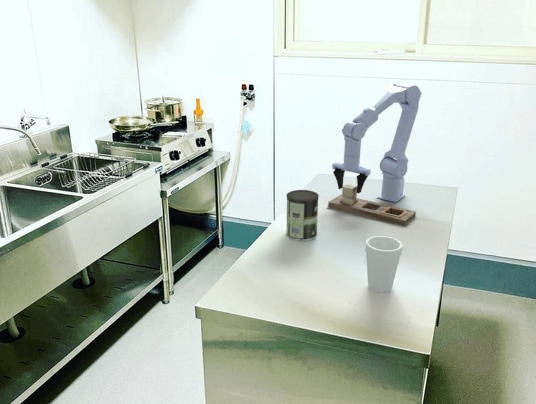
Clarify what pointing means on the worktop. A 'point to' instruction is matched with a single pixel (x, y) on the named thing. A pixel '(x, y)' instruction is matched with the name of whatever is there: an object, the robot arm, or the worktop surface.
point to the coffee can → (302, 215)
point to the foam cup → (382, 262)
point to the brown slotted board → (380, 210)
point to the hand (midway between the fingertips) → (349, 190)
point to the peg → (349, 194)
